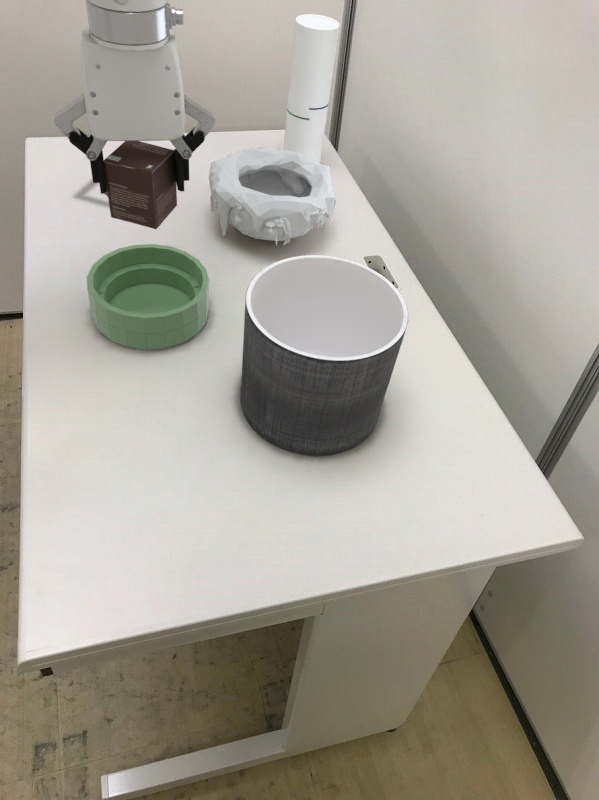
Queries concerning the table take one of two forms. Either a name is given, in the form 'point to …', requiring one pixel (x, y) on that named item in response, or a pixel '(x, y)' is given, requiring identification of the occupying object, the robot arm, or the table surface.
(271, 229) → the bowl
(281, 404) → the planter
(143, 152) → the box
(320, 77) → the cylindrical container
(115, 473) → the table surface
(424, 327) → the table surface
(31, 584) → the table surface
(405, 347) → the table surface
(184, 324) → the green bowl
